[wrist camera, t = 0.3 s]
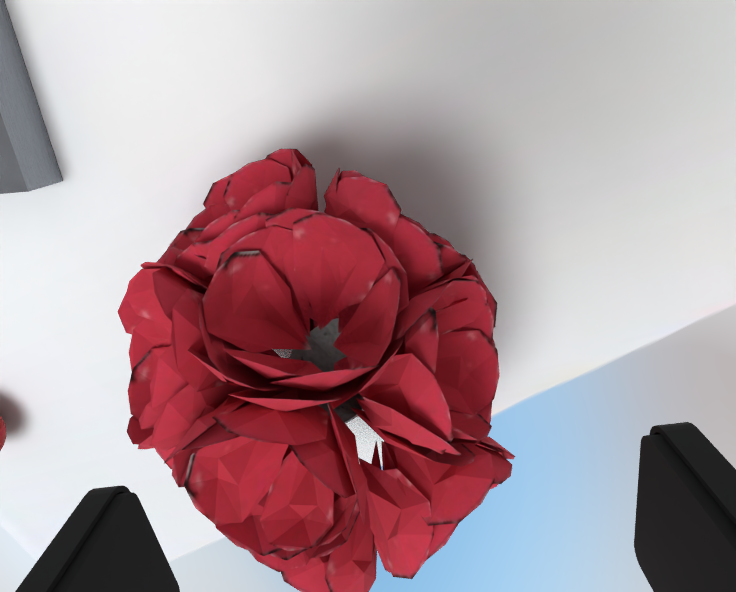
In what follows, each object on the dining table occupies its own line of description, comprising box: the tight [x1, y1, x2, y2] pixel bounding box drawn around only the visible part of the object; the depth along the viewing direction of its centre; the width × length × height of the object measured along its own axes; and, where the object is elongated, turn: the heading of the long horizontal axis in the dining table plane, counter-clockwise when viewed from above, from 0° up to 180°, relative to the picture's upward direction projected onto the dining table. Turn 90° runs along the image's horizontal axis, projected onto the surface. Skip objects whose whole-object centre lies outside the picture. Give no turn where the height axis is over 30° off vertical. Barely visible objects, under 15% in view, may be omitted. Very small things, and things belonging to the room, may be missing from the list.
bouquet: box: [118, 149, 515, 592], centre depth 32 cm, size 22×24×30 cm
